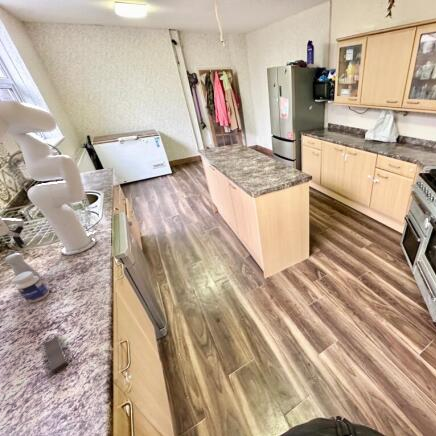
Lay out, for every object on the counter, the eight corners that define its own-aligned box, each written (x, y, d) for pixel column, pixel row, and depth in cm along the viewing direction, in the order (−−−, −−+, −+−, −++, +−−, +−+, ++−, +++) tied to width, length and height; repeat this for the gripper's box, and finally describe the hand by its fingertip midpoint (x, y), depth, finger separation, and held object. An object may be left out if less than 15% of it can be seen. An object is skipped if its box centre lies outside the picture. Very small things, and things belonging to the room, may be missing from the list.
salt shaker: (29, 288, 87) (7, 261, 81) (18, 287, 88) (-5, 260, 82) (46, 277, 92) (27, 251, 86) (35, 276, 93) (15, 250, 87)
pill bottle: (24, 305, 80) (5, 284, 75) (33, 293, 85) (16, 273, 80) (45, 299, 82) (28, 278, 77) (52, 288, 87) (37, 268, 82)
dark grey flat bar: (45, 346, 66) (43, 343, 66) (59, 338, 68) (57, 335, 68) (53, 373, 59) (51, 371, 59) (68, 364, 61) (66, 361, 61)
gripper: (4, 191, 72) (36, 237, 80) (-92, 213, 61) (-44, 264, 69) (6, 196, 68) (39, 245, 76) (-97, 220, 56) (-45, 274, 65)
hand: (0, 254), depth 73 cm, fingers open, 9 cm apart
